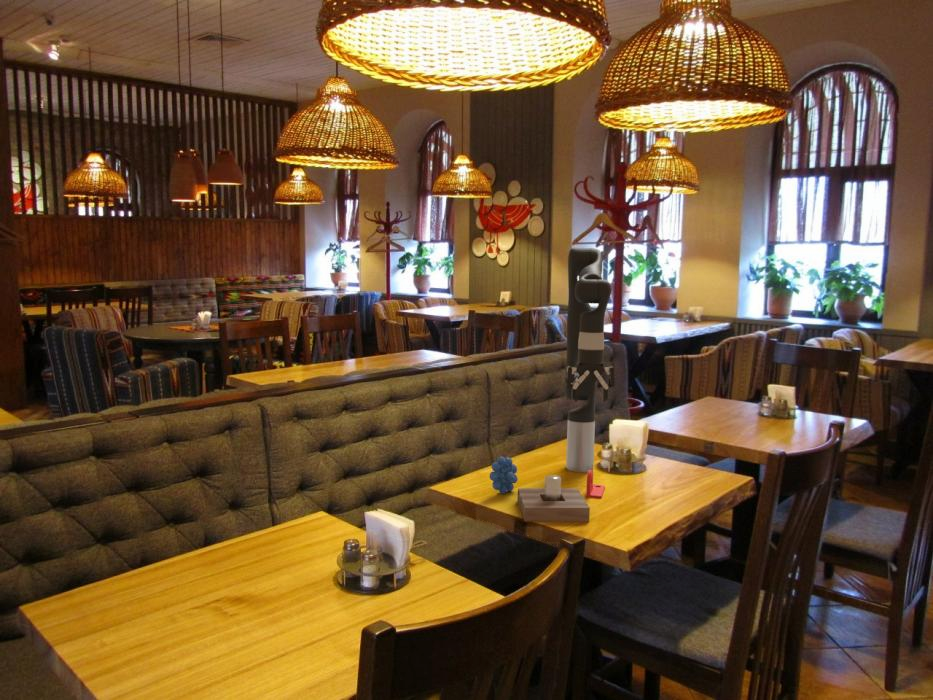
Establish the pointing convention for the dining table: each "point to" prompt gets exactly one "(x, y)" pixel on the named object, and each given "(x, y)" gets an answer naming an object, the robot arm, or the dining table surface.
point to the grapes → (503, 474)
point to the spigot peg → (552, 488)
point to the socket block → (552, 506)
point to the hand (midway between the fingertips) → (589, 401)
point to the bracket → (593, 487)
